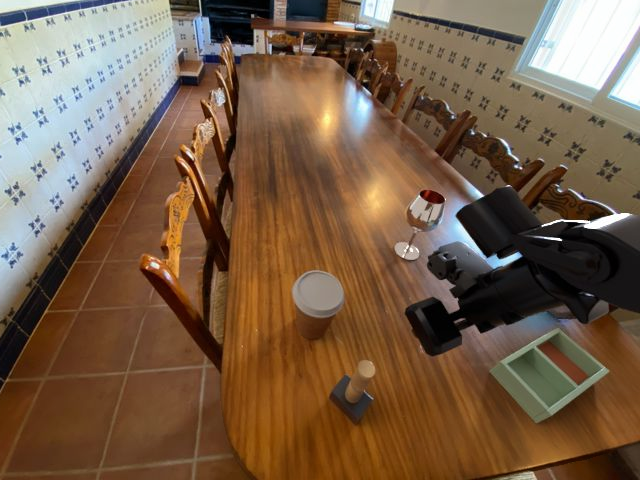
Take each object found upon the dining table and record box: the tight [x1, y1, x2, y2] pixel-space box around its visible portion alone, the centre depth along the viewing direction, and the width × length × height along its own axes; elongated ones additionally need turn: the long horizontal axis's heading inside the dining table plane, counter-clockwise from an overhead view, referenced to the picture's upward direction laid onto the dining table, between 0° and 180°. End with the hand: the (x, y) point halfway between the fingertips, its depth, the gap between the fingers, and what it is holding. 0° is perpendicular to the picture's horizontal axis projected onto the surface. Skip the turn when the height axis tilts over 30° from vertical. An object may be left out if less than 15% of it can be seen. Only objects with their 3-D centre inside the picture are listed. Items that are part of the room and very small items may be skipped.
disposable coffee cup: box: [291, 269, 346, 340], centre depth 56 cm, size 10×10×12 cm
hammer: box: [328, 359, 376, 425], centre depth 46 cm, size 6×4×13 cm
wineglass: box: [393, 188, 447, 261], centre depth 72 cm, size 8×8×18 cm
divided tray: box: [488, 327, 610, 424], centre depth 54 cm, size 9×17×4 cm, turn 114°
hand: (436, 323), depth 46 cm, fingers open, 9 cm apart
